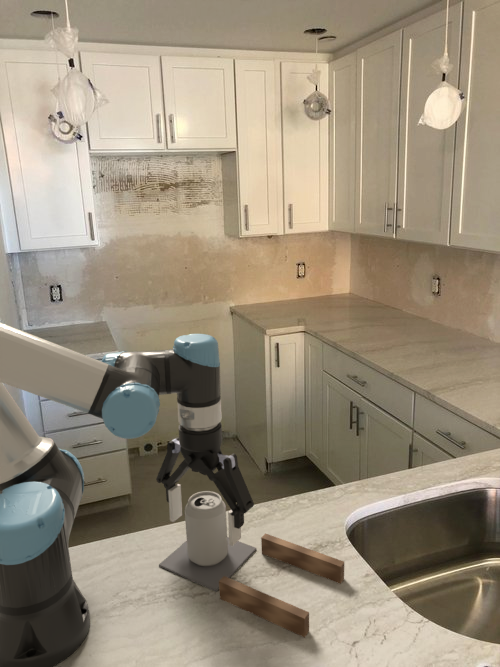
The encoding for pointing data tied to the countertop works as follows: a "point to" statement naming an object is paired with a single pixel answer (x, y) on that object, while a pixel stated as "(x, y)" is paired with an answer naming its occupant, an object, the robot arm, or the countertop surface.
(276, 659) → the countertop surface
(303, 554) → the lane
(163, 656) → the countertop surface
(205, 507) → the can
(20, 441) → the robot arm
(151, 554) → the countertop surface
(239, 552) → the mat
